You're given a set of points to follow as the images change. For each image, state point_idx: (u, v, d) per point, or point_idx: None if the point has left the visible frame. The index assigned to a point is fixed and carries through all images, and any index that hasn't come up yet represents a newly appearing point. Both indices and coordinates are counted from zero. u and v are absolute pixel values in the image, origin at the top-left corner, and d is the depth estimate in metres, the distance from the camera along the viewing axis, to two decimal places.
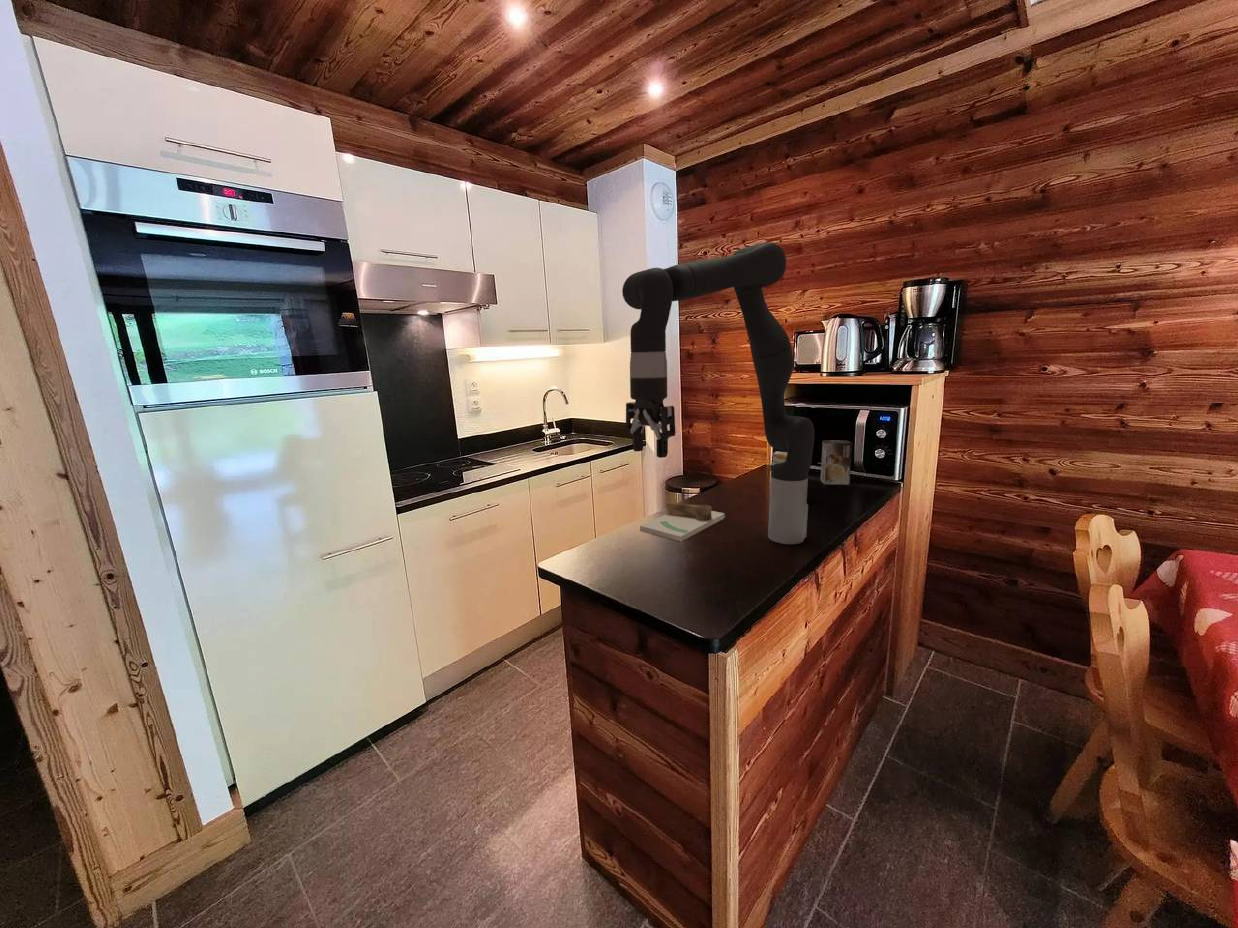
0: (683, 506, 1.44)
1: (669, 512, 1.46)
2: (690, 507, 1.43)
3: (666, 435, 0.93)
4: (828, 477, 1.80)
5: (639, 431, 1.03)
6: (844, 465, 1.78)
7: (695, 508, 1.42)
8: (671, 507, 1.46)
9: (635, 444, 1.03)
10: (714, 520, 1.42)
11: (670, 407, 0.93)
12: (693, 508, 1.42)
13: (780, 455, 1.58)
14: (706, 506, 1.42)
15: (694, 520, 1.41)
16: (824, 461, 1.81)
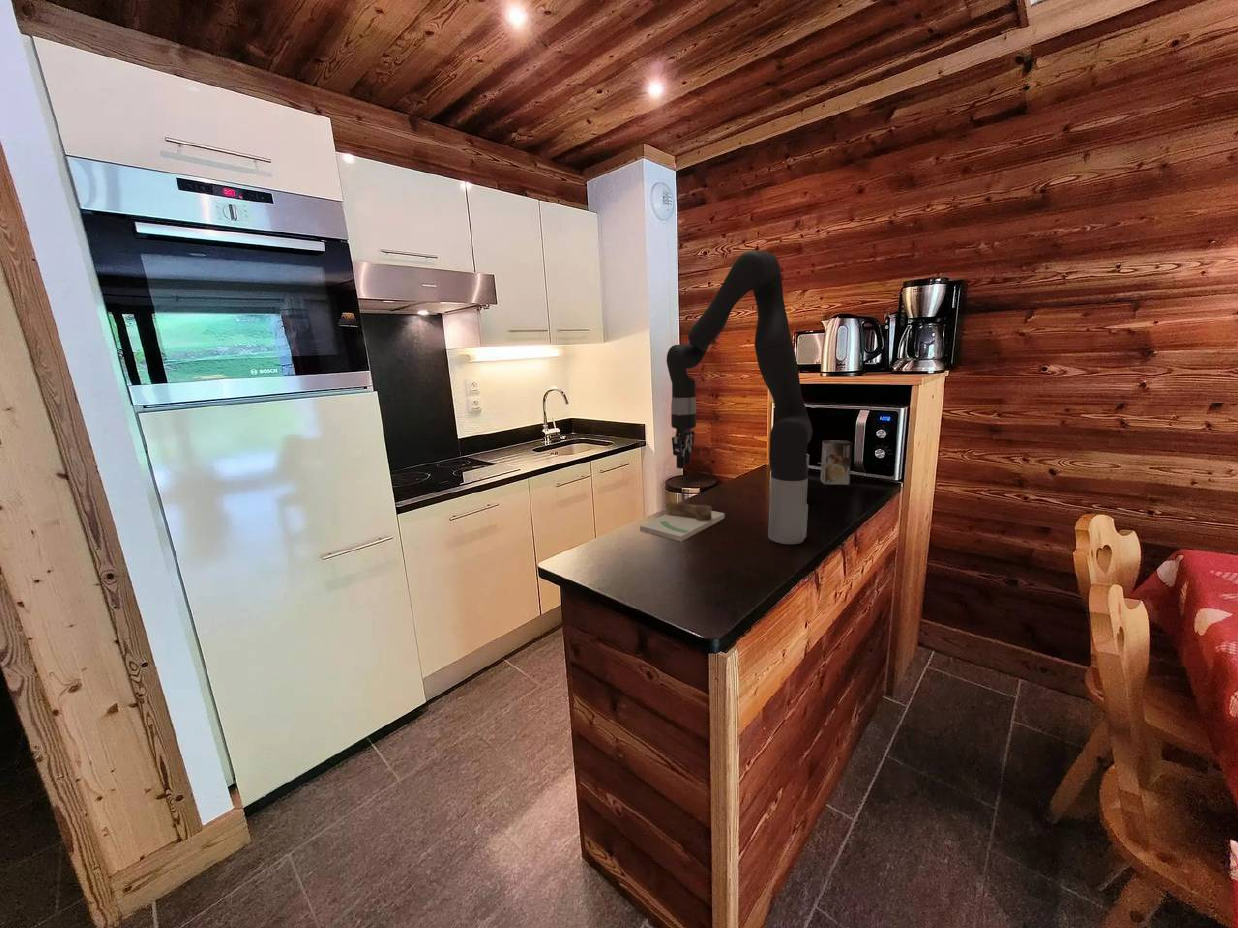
0: (683, 506, 1.44)
1: (669, 512, 1.46)
2: (690, 507, 1.43)
3: None
4: (828, 477, 1.80)
5: None
6: (844, 465, 1.78)
7: (695, 508, 1.42)
8: (671, 507, 1.46)
9: None
10: (714, 520, 1.42)
11: None
12: (693, 508, 1.42)
13: None
14: (706, 506, 1.42)
15: (694, 520, 1.41)
16: (824, 461, 1.81)
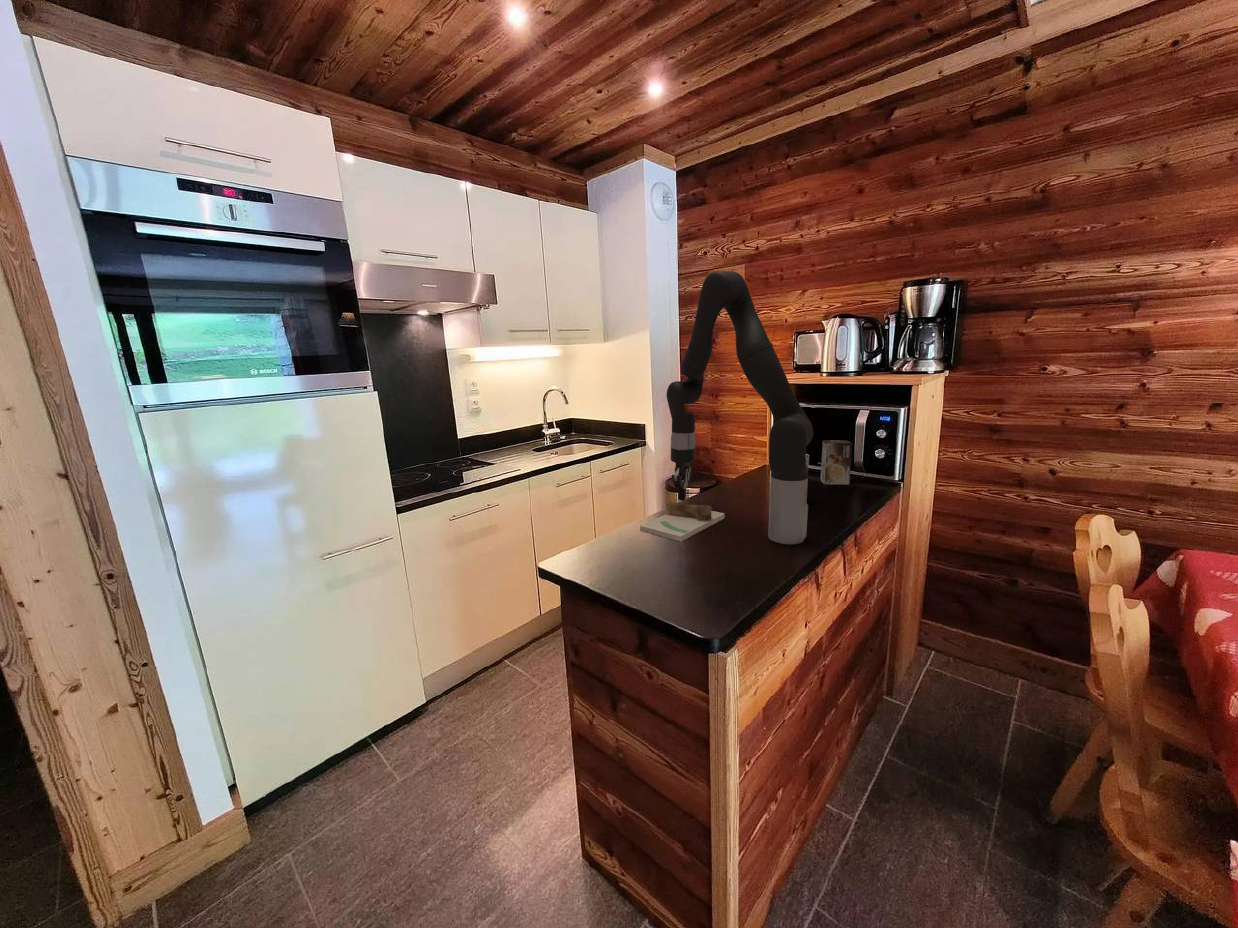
0: (683, 506, 1.44)
1: (669, 512, 1.46)
2: (690, 507, 1.43)
3: None
4: (828, 477, 1.80)
5: None
6: (844, 465, 1.78)
7: (695, 508, 1.42)
8: (671, 507, 1.46)
9: None
10: (714, 520, 1.42)
11: None
12: (693, 508, 1.42)
13: None
14: (706, 506, 1.42)
15: (694, 520, 1.41)
16: (824, 461, 1.81)
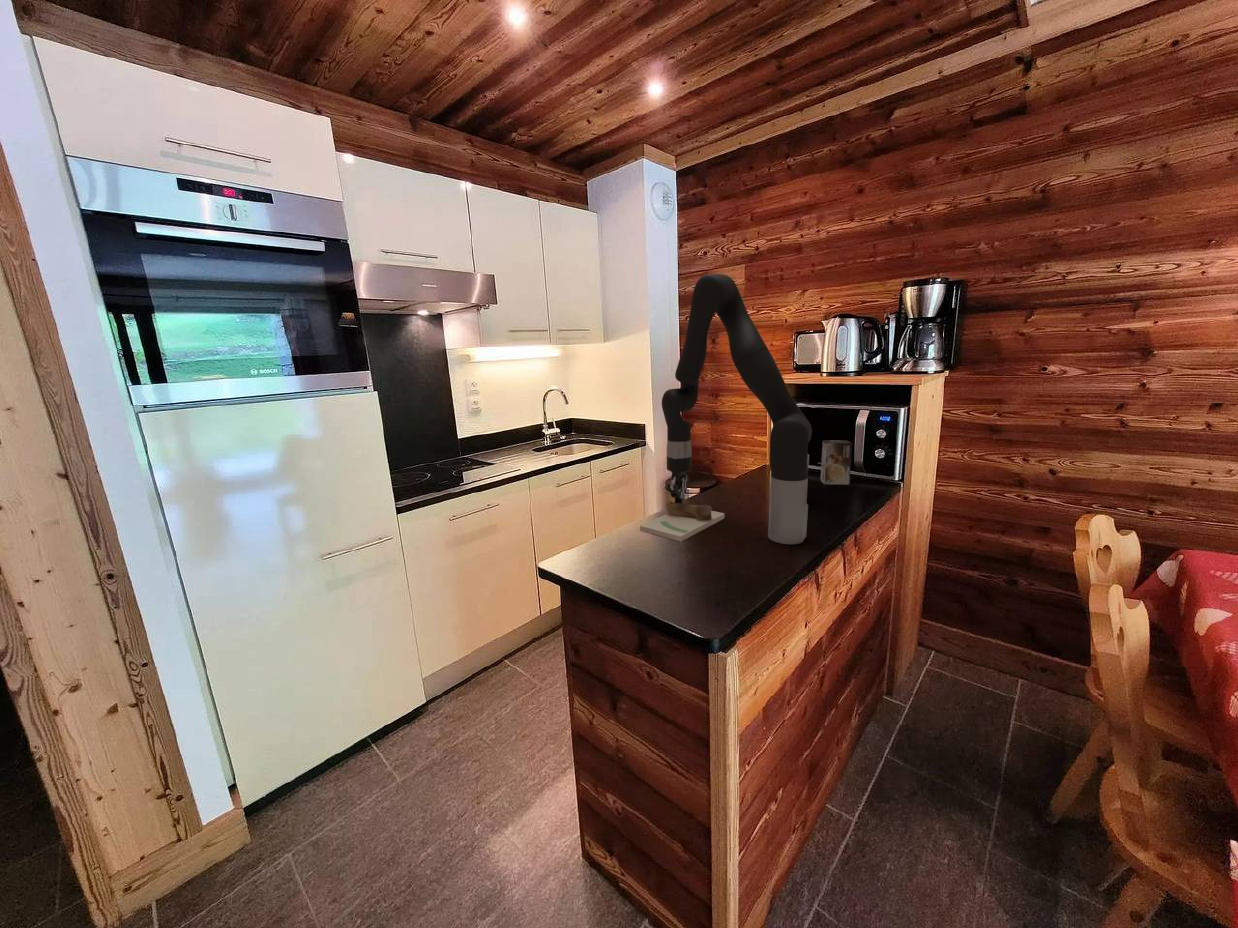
0: (683, 506, 1.44)
1: (669, 512, 1.46)
2: (690, 507, 1.43)
3: None
4: (828, 477, 1.80)
5: None
6: (844, 465, 1.78)
7: (695, 508, 1.42)
8: (671, 507, 1.46)
9: None
10: (714, 520, 1.42)
11: None
12: (693, 508, 1.42)
13: None
14: (706, 506, 1.42)
15: (694, 520, 1.41)
16: (824, 461, 1.81)
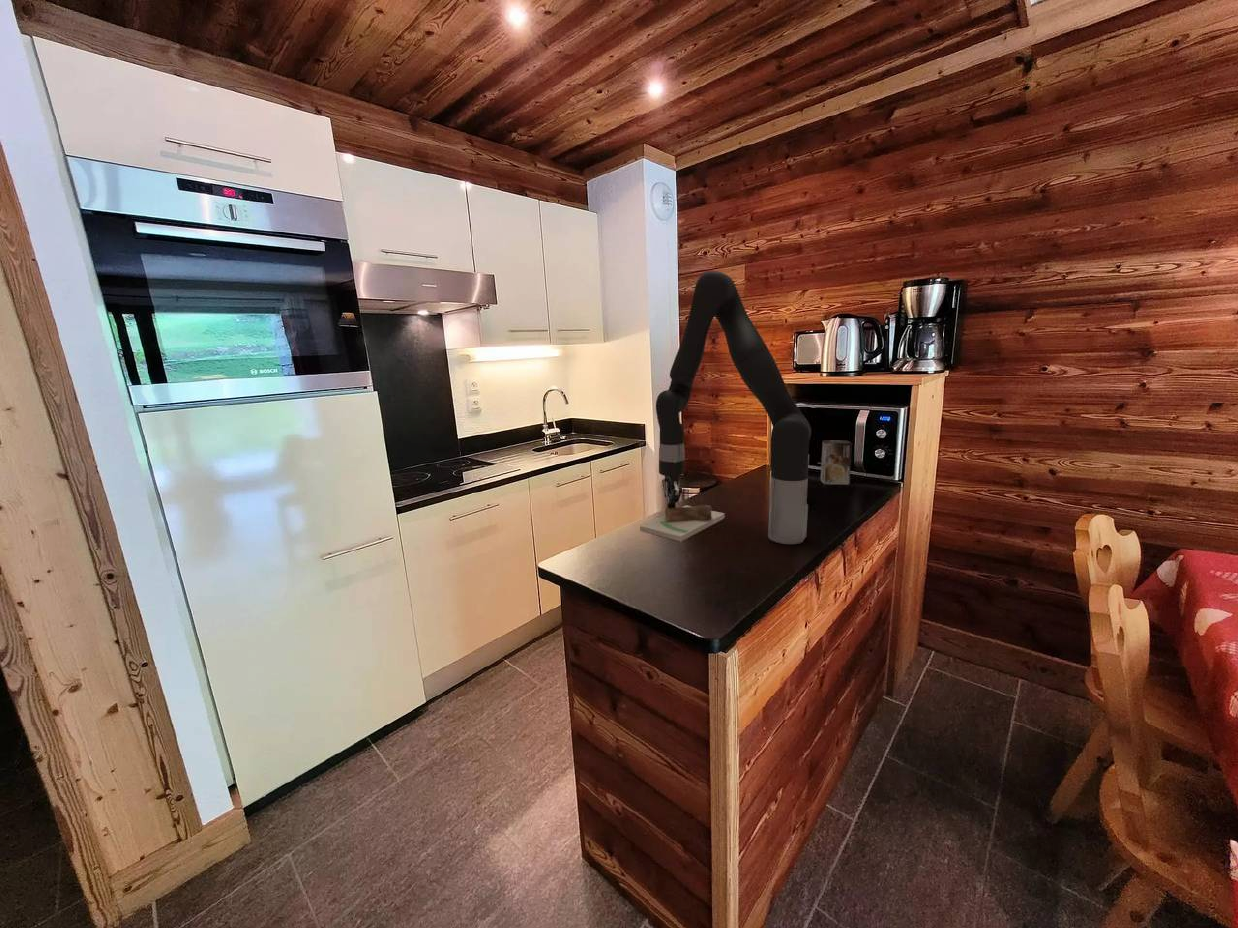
0: (684, 510, 1.40)
1: (669, 519, 1.40)
2: (692, 509, 1.41)
3: None
4: (828, 477, 1.80)
5: None
6: (844, 465, 1.78)
7: (697, 509, 1.41)
8: (671, 513, 1.40)
9: None
10: (714, 520, 1.42)
11: None
12: (694, 510, 1.41)
13: None
14: (705, 506, 1.42)
15: (694, 520, 1.41)
16: (824, 461, 1.81)
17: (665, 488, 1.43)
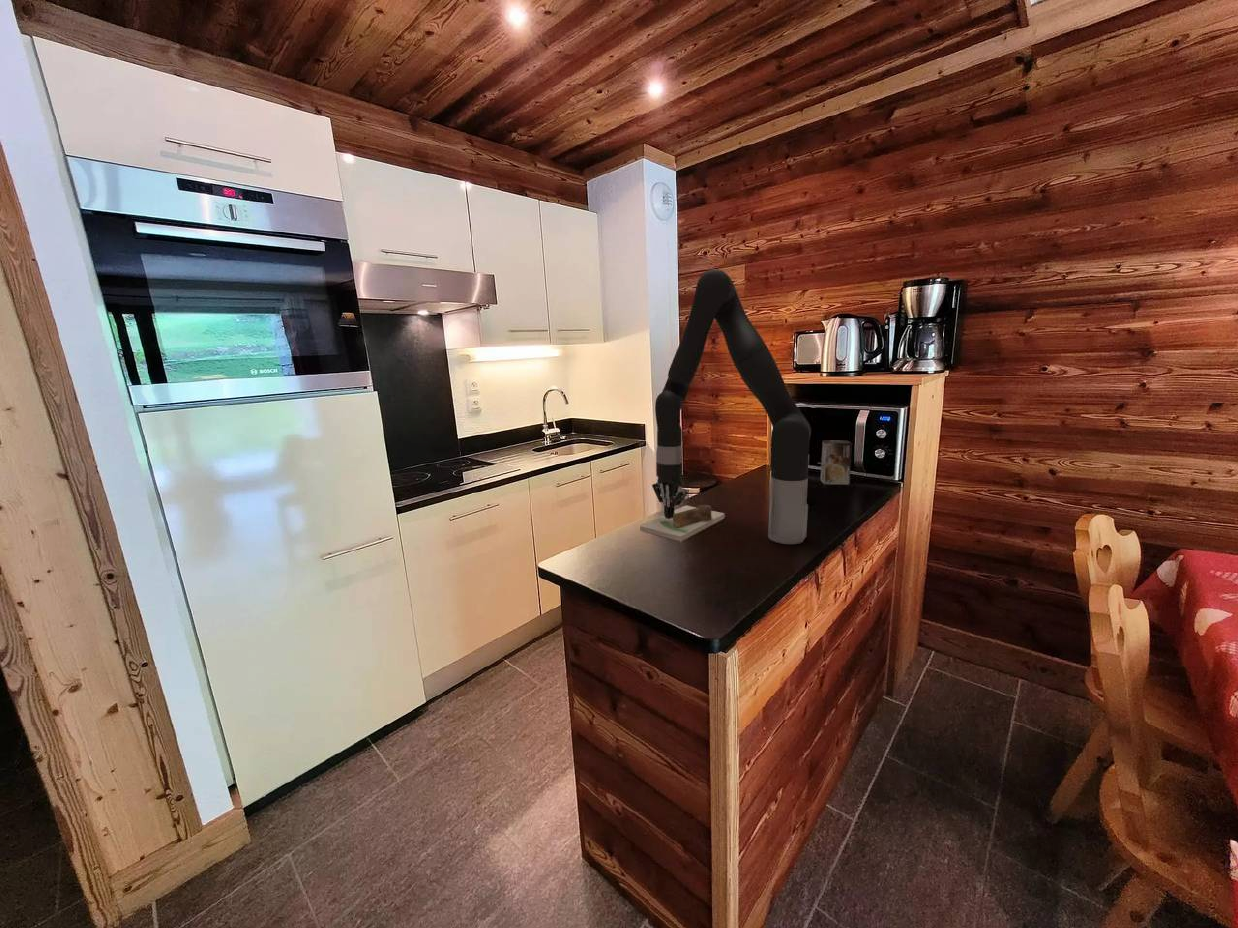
0: (691, 513, 1.38)
1: (680, 524, 1.35)
2: (697, 511, 1.39)
3: None
4: (828, 477, 1.80)
5: None
6: (844, 465, 1.78)
7: (700, 510, 1.40)
8: (681, 518, 1.35)
9: None
10: (714, 520, 1.42)
11: None
12: (698, 511, 1.39)
13: None
14: (703, 506, 1.43)
15: None
16: (824, 461, 1.81)
17: (663, 492, 1.38)
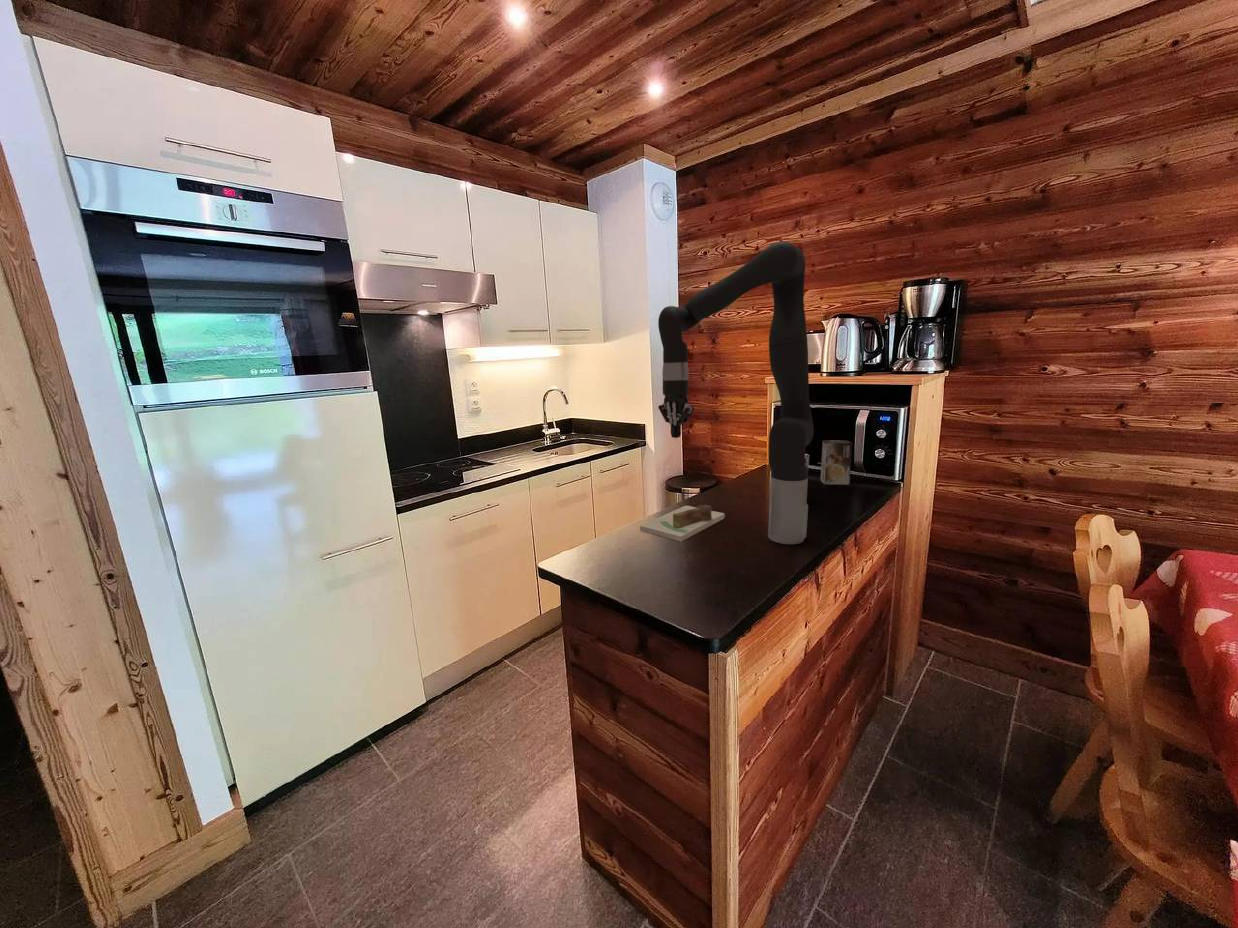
0: (691, 513, 1.38)
1: (680, 524, 1.35)
2: (697, 511, 1.39)
3: None
4: (828, 477, 1.80)
5: None
6: (844, 465, 1.78)
7: (700, 510, 1.40)
8: (681, 518, 1.35)
9: None
10: (714, 520, 1.42)
11: None
12: (698, 511, 1.39)
13: None
14: (703, 506, 1.43)
15: None
16: (824, 461, 1.81)
17: (670, 411, 1.40)
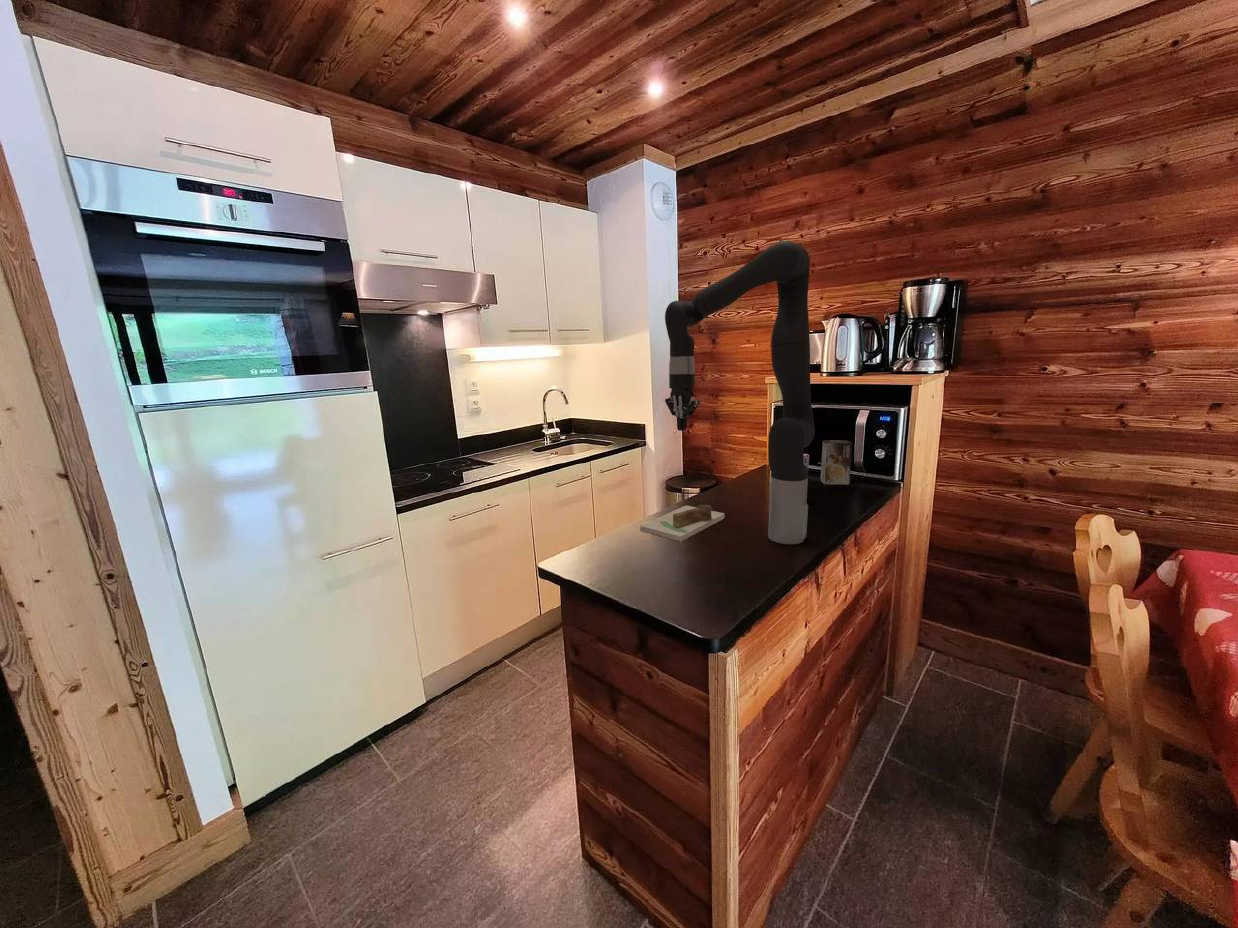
0: (691, 513, 1.38)
1: (680, 524, 1.35)
2: (697, 511, 1.39)
3: None
4: (828, 477, 1.80)
5: None
6: (844, 465, 1.78)
7: (700, 510, 1.40)
8: (681, 518, 1.35)
9: None
10: (714, 520, 1.42)
11: None
12: (698, 511, 1.39)
13: None
14: (703, 506, 1.43)
15: None
16: (824, 461, 1.81)
17: (676, 404, 1.43)
